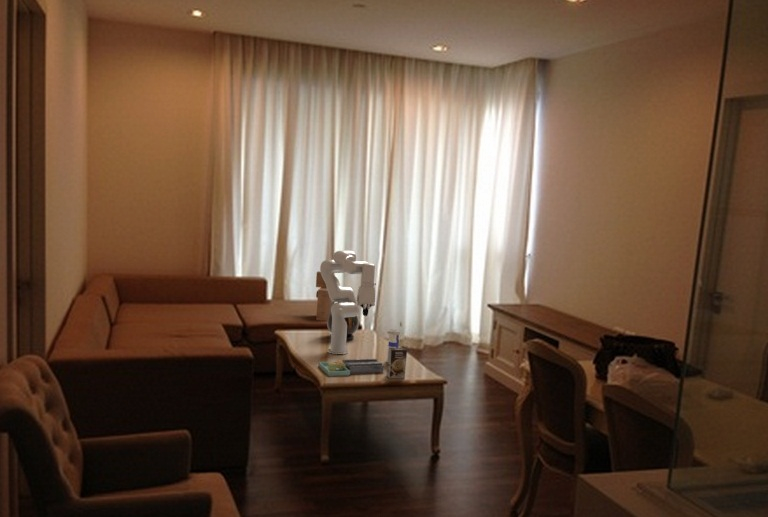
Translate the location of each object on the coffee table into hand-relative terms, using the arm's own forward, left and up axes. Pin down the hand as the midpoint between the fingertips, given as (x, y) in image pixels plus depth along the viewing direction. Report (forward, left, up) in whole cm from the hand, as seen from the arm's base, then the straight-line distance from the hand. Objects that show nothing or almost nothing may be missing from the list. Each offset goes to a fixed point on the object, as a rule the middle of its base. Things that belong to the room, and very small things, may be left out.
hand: (365, 315), depth 397 cm
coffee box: (+28, +10, -29) cm, 42 cm away
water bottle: (-2, +20, -29) cm, 36 cm away
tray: (+12, -21, -29) cm, 38 cm away
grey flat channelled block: (+12, -4, -29) cm, 32 cm away
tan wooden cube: (+12, -22, -25) cm, 35 cm away
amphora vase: (-66, +9, -29) cm, 73 cm away
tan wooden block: (+13, -19, -25) cm, 34 cm away
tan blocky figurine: (-133, +16, -29) cm, 137 cm away
